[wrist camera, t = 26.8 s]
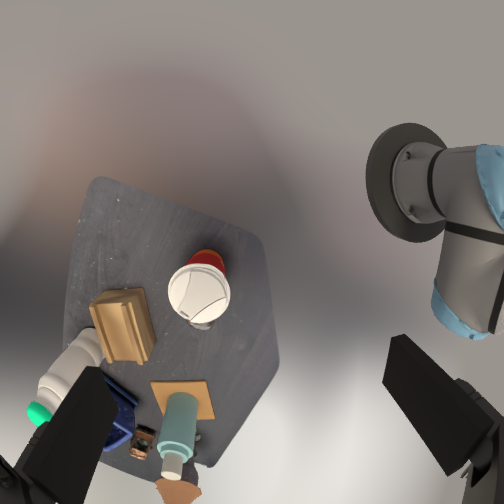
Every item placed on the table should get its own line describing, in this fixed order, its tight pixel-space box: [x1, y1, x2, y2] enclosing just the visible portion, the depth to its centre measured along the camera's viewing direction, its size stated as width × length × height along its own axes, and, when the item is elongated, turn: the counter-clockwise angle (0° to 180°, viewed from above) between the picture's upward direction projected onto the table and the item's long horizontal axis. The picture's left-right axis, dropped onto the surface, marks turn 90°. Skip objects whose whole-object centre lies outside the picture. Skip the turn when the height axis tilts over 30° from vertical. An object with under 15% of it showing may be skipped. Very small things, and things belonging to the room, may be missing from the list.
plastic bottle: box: [157, 392, 198, 480], centre depth 41 cm, size 20×7×7 cm
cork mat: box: [150, 380, 215, 420], centre depth 51 cm, size 12×12×1 cm
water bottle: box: [27, 328, 106, 427], centre depth 34 cm, size 7×7×25 cm
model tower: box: [155, 428, 202, 504], centre depth 39 cm, size 10×11×30 cm
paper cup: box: [168, 249, 230, 323], centre depth 38 cm, size 8×8×14 cm
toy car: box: [129, 428, 155, 460], centre depth 50 cm, size 6×12×7 cm, turn 162°
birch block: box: [89, 288, 156, 365], centre depth 42 cm, size 8×11×8 cm
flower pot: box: [103, 375, 139, 452], centre depth 44 cm, size 13×13×12 cm
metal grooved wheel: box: [186, 319, 215, 330], centre depth 44 cm, size 5×3×5 cm, turn 71°
